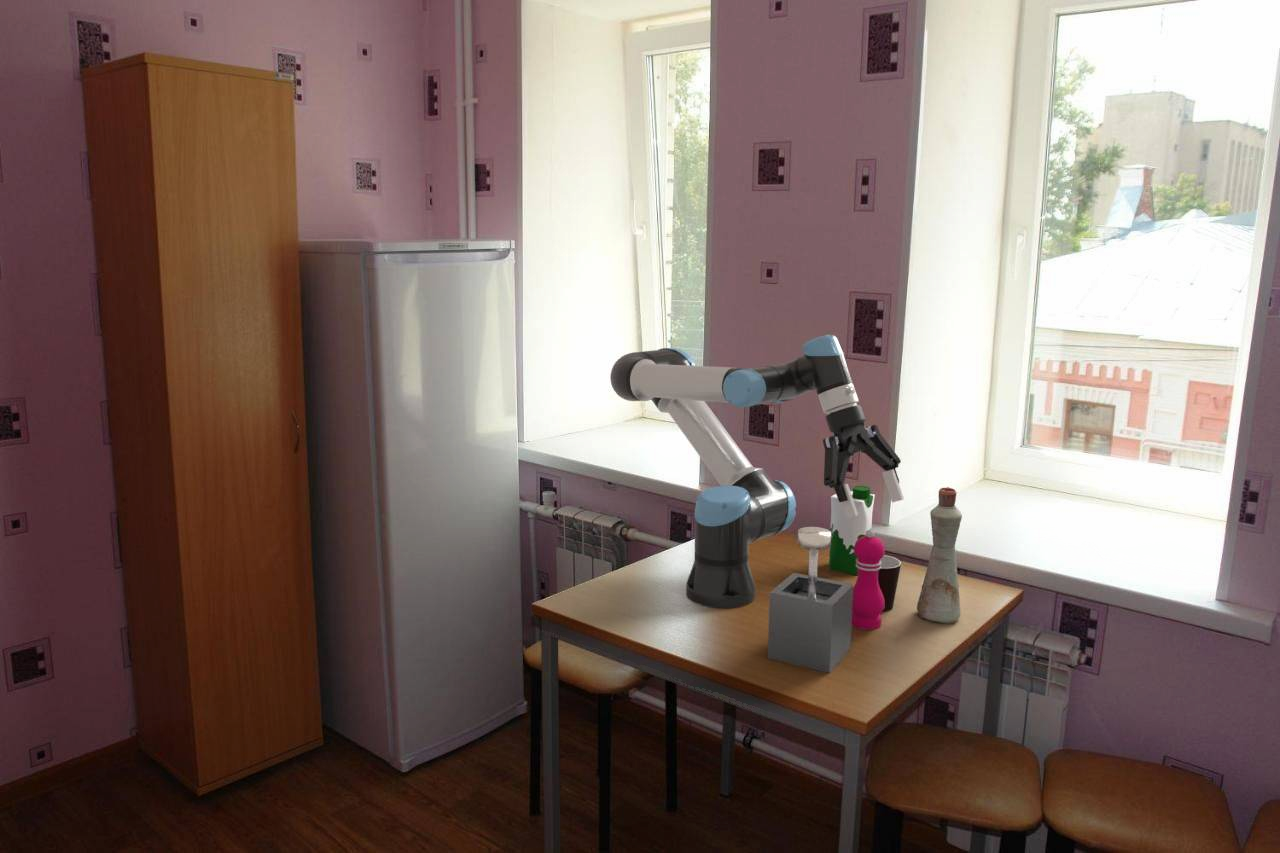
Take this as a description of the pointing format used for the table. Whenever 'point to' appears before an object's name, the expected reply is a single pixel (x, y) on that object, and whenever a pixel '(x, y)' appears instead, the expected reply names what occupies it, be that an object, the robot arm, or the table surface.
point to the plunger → (813, 555)
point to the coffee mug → (889, 579)
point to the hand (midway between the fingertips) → (875, 508)
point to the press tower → (810, 623)
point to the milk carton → (849, 529)
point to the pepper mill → (868, 583)
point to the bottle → (942, 563)
